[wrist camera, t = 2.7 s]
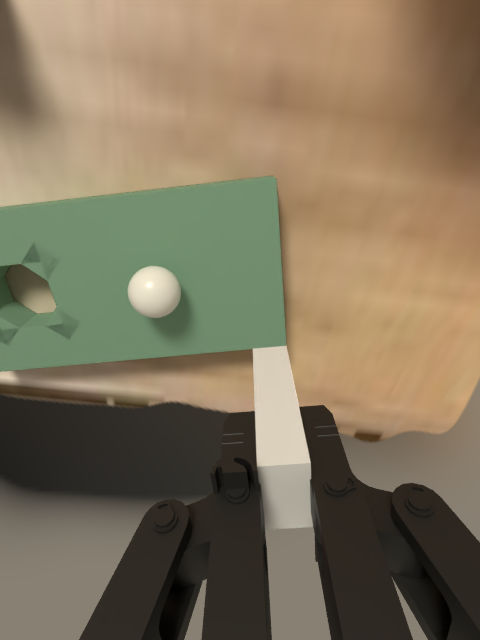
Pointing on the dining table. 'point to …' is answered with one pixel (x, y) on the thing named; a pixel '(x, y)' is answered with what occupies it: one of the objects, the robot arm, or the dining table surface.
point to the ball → (154, 291)
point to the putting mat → (139, 252)
